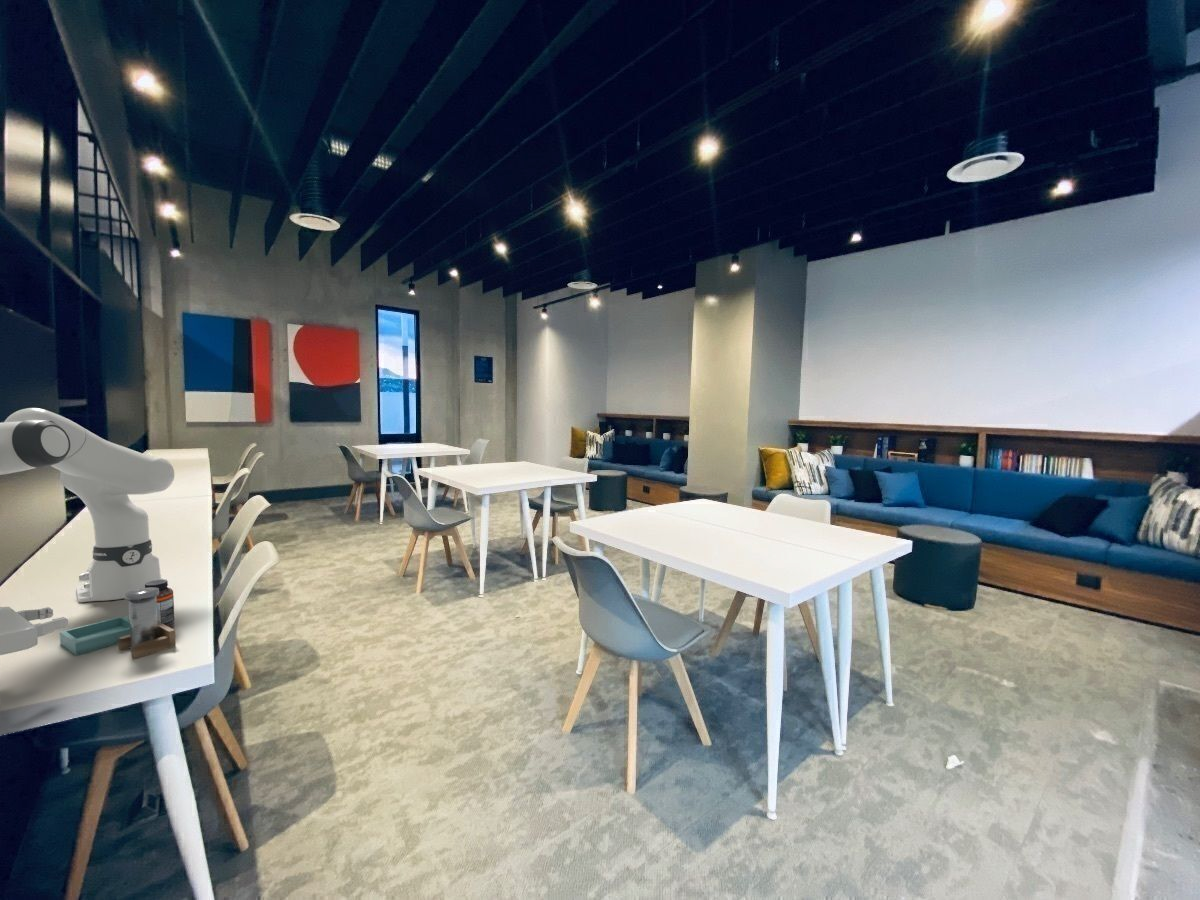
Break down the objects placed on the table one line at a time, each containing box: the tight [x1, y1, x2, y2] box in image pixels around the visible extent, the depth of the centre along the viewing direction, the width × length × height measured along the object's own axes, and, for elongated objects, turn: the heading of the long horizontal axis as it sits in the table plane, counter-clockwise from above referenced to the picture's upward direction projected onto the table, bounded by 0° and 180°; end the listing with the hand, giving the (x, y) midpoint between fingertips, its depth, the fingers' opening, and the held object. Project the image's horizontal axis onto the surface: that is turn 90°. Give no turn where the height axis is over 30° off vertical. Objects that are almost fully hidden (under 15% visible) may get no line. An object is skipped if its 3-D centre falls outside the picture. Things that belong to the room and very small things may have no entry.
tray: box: [59, 615, 130, 656], centre depth 112 cm, size 11×11×3 cm
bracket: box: [118, 621, 176, 660], centre depth 108 cm, size 9×7×4 cm
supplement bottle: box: [145, 579, 175, 628], centre depth 118 cm, size 6×6×11 cm
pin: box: [124, 587, 159, 653], centre depth 108 cm, size 5×5×12 cm
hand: (59, 616), depth 97 cm, fingers open, 8 cm apart
